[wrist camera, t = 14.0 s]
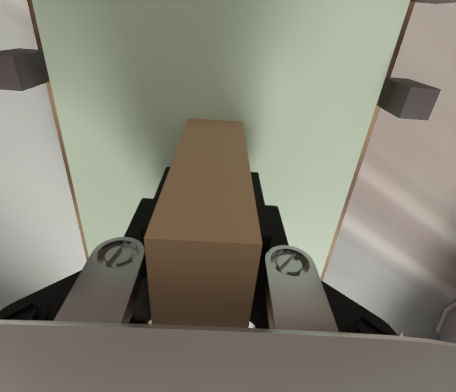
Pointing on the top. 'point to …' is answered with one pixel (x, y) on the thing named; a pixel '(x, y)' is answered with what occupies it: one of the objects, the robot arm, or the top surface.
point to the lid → (214, 129)
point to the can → (447, 324)
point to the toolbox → (388, 100)
